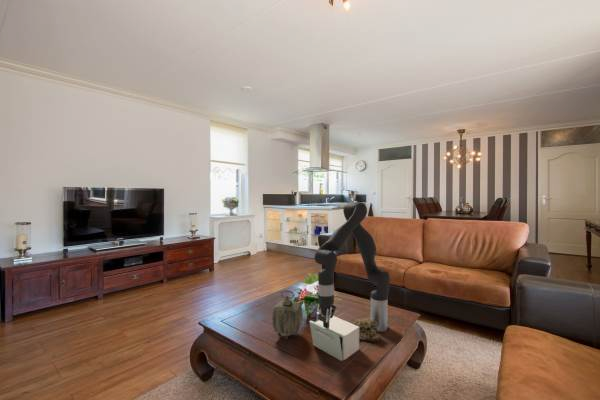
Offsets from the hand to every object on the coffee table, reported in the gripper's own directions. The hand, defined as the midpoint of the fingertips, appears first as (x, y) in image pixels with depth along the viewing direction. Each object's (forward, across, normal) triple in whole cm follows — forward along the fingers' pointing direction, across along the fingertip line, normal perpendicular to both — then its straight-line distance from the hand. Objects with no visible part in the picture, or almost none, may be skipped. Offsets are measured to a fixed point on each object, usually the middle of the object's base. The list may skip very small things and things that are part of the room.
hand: (326, 328), depth 129 cm
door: (+12, -1, 0) cm, 12 cm away
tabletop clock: (+13, +4, -24) cm, 27 cm away
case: (+13, -8, 0) cm, 15 cm away
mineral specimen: (+14, -26, +4) cm, 29 cm away
